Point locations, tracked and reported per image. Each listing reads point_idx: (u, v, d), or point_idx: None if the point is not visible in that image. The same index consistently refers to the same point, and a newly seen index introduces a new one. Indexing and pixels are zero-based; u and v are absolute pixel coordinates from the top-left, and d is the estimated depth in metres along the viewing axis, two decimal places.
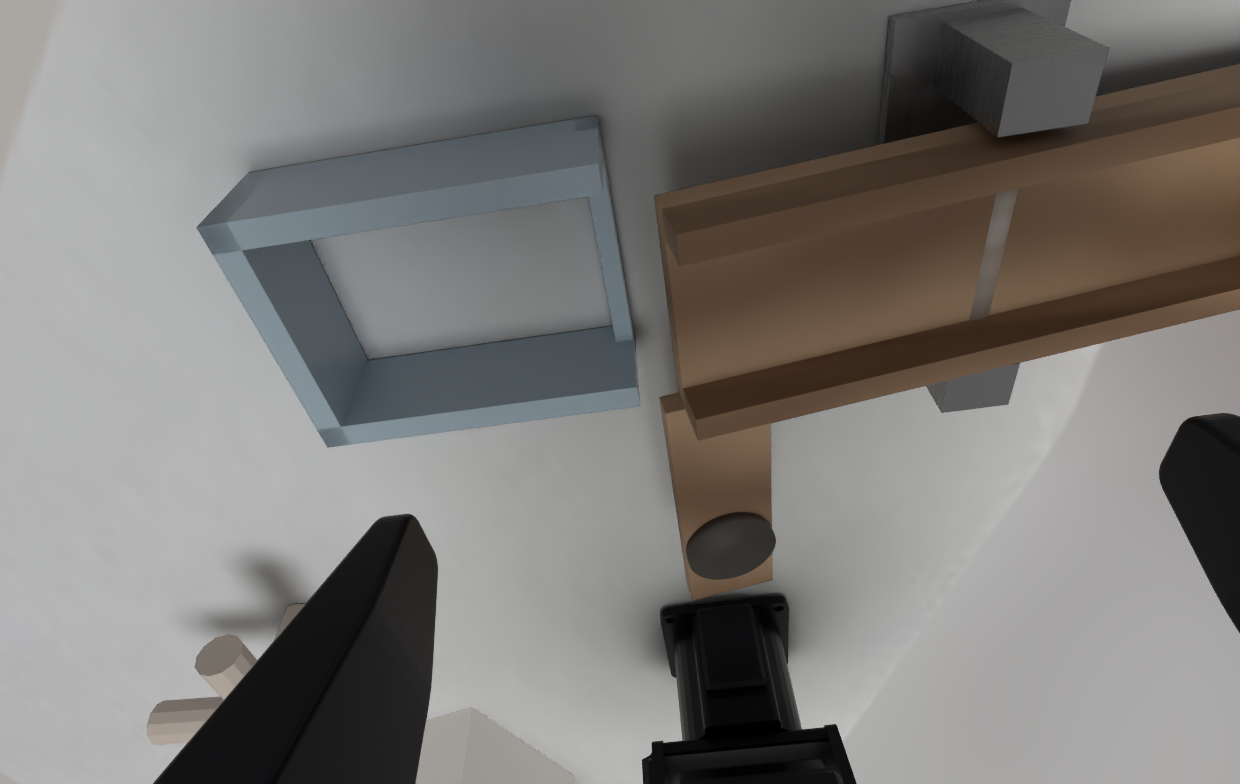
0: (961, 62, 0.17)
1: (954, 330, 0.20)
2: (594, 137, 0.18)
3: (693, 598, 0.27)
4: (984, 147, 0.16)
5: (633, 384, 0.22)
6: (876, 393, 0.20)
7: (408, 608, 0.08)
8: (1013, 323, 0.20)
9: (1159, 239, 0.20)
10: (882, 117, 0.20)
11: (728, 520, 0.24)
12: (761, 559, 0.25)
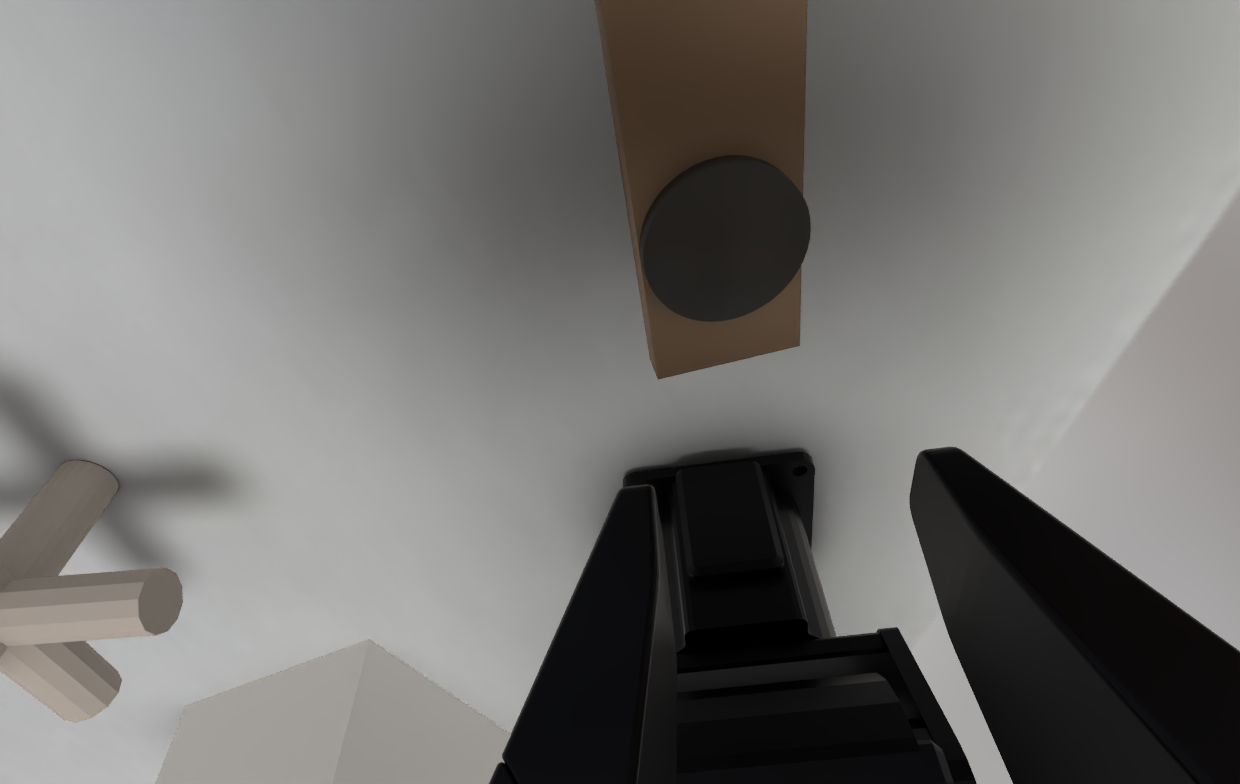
0: None
1: None
2: None
3: (659, 374, 0.15)
4: None
5: None
6: None
7: (665, 579, 0.08)
8: None
9: None
10: None
11: (720, 164, 0.12)
12: (782, 277, 0.13)
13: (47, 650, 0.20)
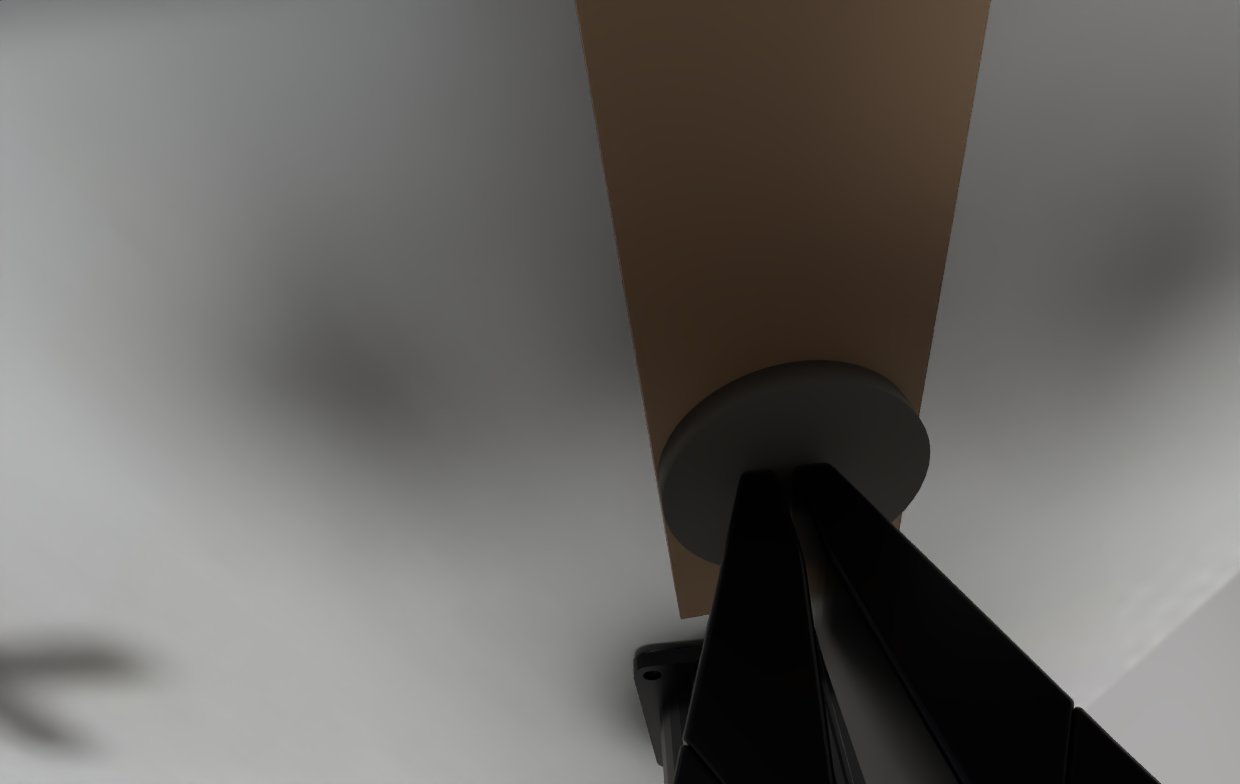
0: None
1: None
2: None
3: (683, 614, 0.10)
4: None
5: None
6: None
7: None
8: None
9: None
10: None
11: (791, 380, 0.07)
12: None
13: None
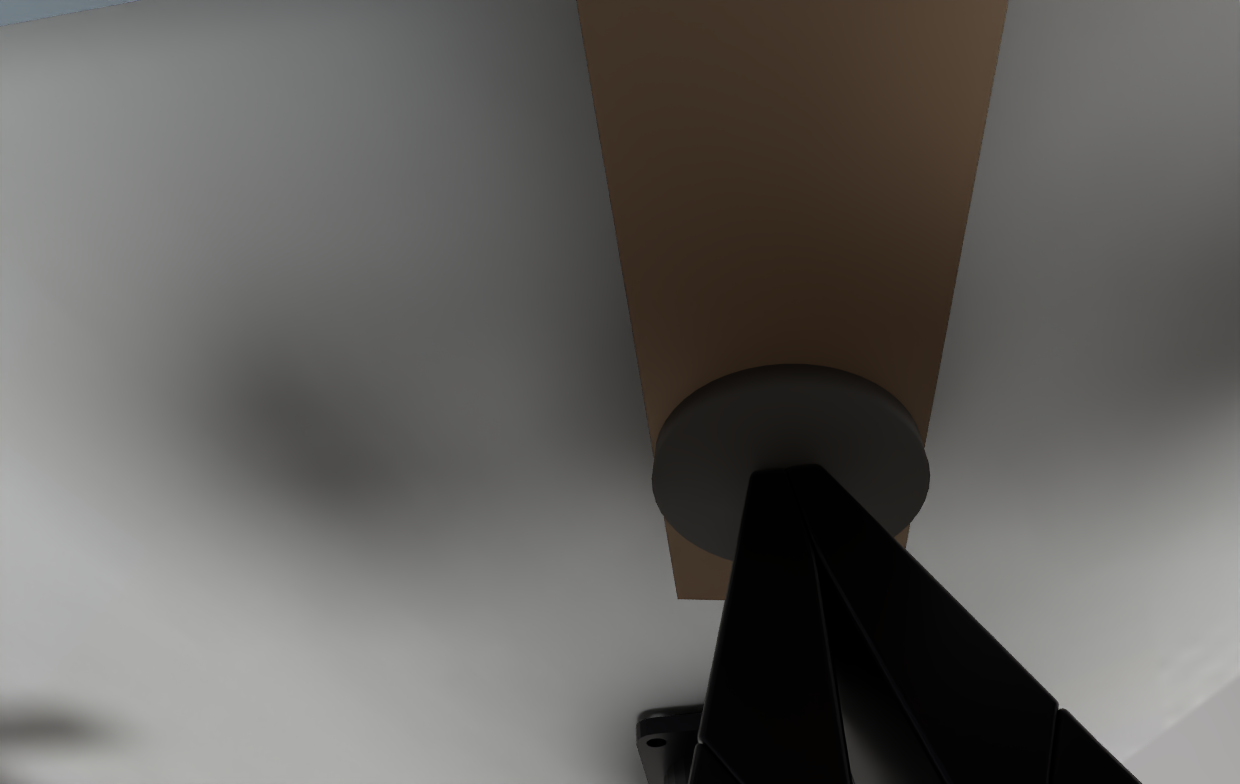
0: None
1: None
2: None
3: (680, 594, 0.11)
4: None
5: None
6: None
7: None
8: None
9: None
10: None
11: (784, 381, 0.07)
12: None
13: None
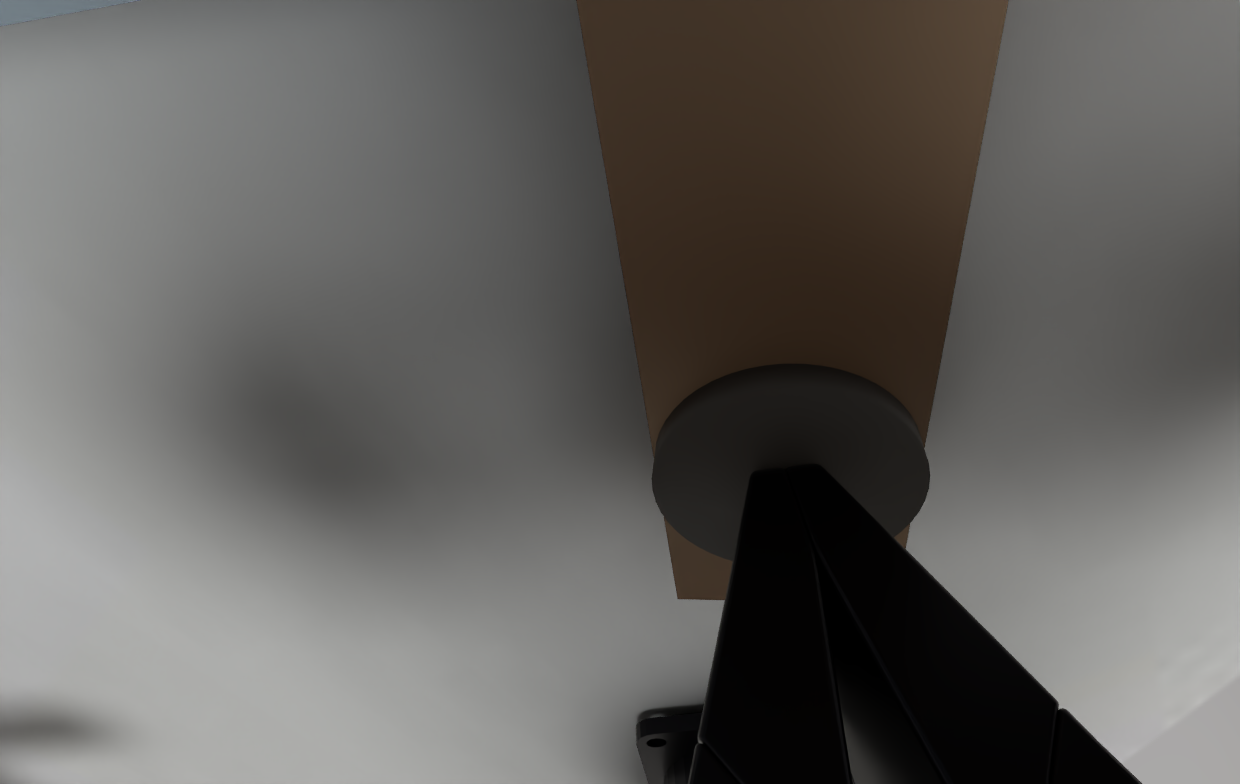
0: None
1: None
2: None
3: (680, 594, 0.11)
4: None
5: None
6: None
7: None
8: None
9: None
10: None
11: (784, 381, 0.07)
12: None
13: None
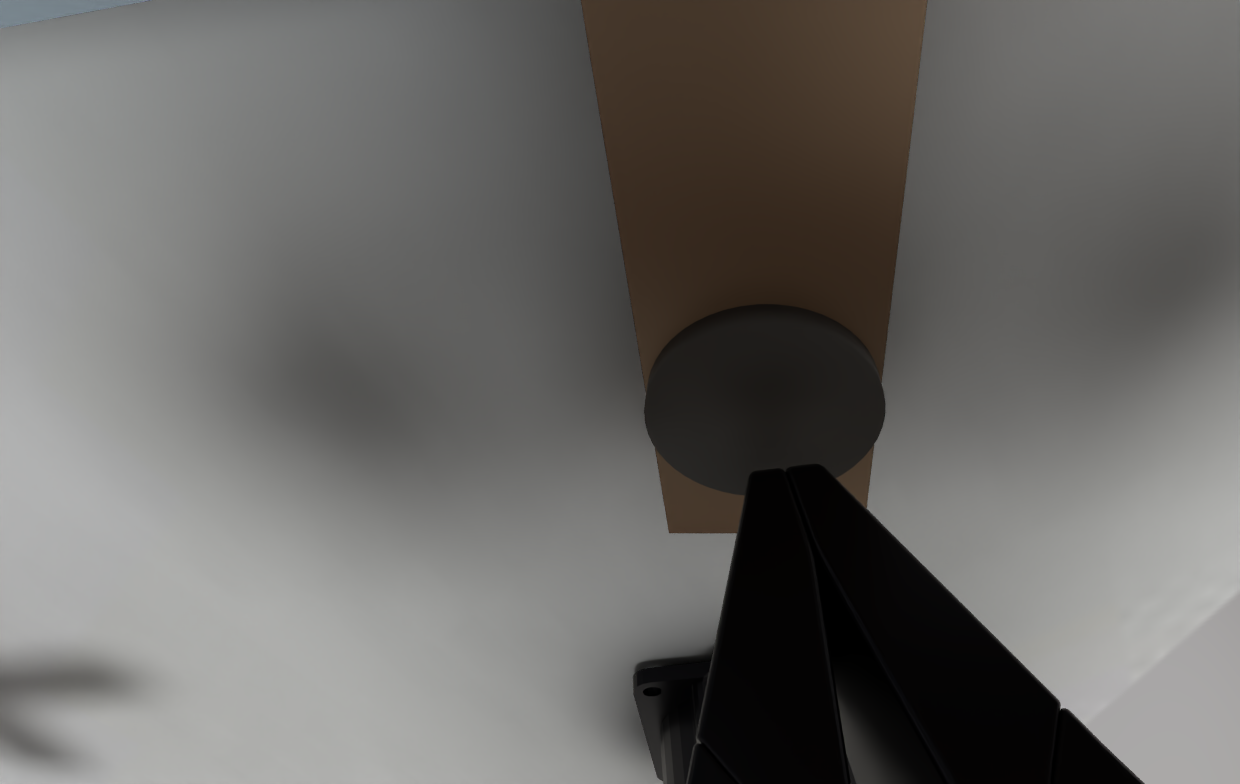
0: None
1: None
2: None
3: (671, 528, 0.12)
4: None
5: None
6: None
7: None
8: None
9: None
10: None
11: (757, 318, 0.09)
12: (838, 463, 0.10)
13: None
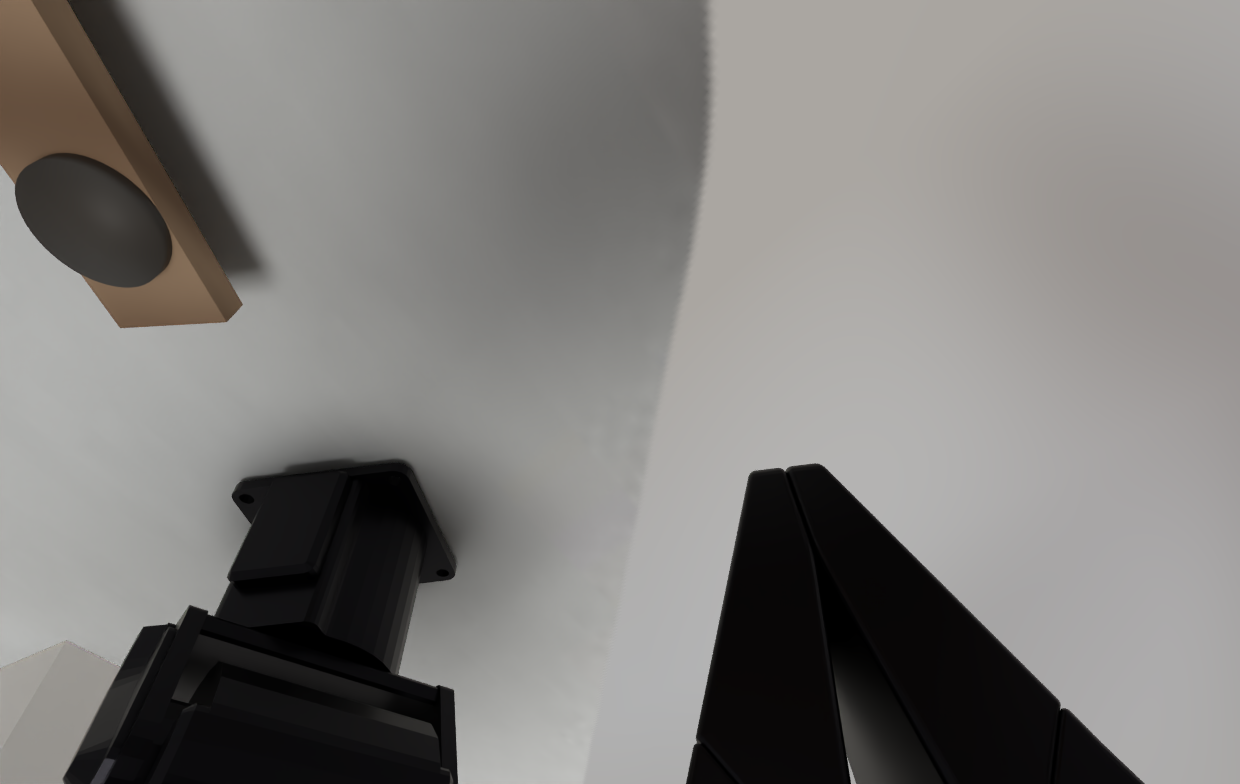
0: None
1: None
2: None
3: (119, 324, 0.18)
4: None
5: None
6: None
7: None
8: None
9: None
10: None
11: (49, 159, 0.15)
12: (152, 259, 0.16)
13: None
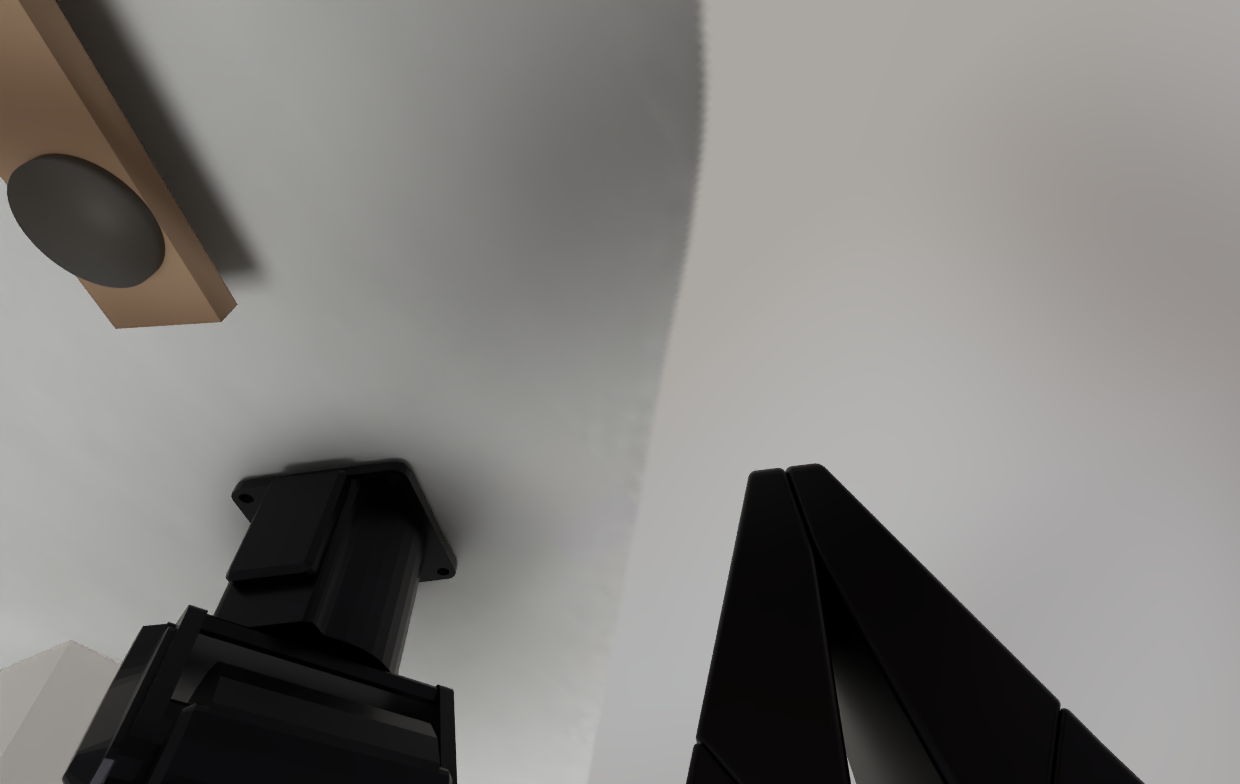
0: None
1: None
2: None
3: (114, 325, 0.18)
4: None
5: None
6: None
7: None
8: None
9: None
10: None
11: None
12: (145, 260, 0.16)
13: None
